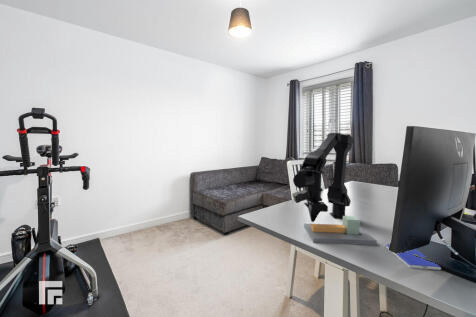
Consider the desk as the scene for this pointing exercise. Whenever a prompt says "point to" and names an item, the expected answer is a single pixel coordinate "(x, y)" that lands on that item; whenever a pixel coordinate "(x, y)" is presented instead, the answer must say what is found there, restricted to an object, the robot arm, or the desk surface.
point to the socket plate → (340, 237)
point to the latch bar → (328, 228)
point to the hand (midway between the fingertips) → (312, 221)
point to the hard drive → (416, 260)
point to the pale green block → (351, 225)
